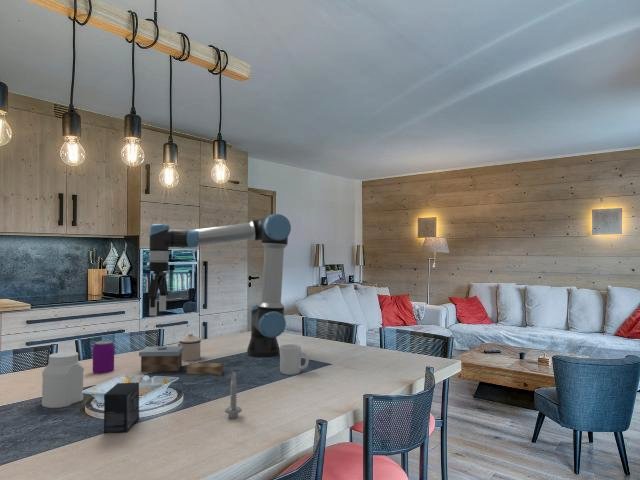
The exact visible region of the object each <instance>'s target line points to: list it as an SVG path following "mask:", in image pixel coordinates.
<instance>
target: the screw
mask: <svg viewBox="0 0 640 480" xmlns="http://www.w3.org/2000/svg"><path fill="white" fill-rule="evenodd" d="M237 385H238V382H237V373H236V372H234V371H233V372H231V379H230V388H229V389H230V390H229V391H230V396H229V397H230V402H229V404H230V406H228V407H226V408H225V409H224V413H226V414H228V418H229V419H232V420H233V419H237V418H238V417H239V414H240V413H241V412H242V408H241V407H240V406H237V404H238V401H237V398H238V397H237V396H238V395H237V394H238V393H237V392H238V386H237Z"/></svg>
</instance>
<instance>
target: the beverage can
mask: <svg viewBox="0 0 640 480" xmlns="http://www.w3.org/2000/svg"><path fill="white" fill-rule="evenodd" d="M114 370H115V345H114V342H113V341H112V340H99V341H96V342H94V345H93V348H92V373H94V375H95V374H107V373H112V372H113V371H114Z"/></svg>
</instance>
